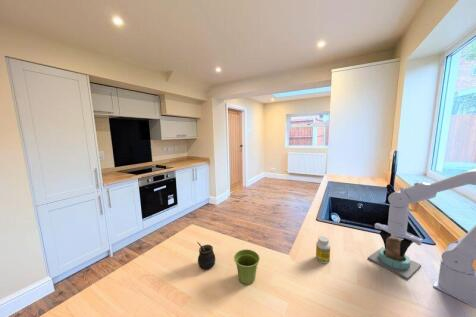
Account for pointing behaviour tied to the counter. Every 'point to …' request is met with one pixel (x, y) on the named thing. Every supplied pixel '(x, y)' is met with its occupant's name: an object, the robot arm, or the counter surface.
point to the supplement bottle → (323, 250)
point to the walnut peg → (393, 248)
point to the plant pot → (246, 265)
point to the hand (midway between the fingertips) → (394, 252)
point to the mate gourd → (206, 257)
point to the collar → (395, 264)
